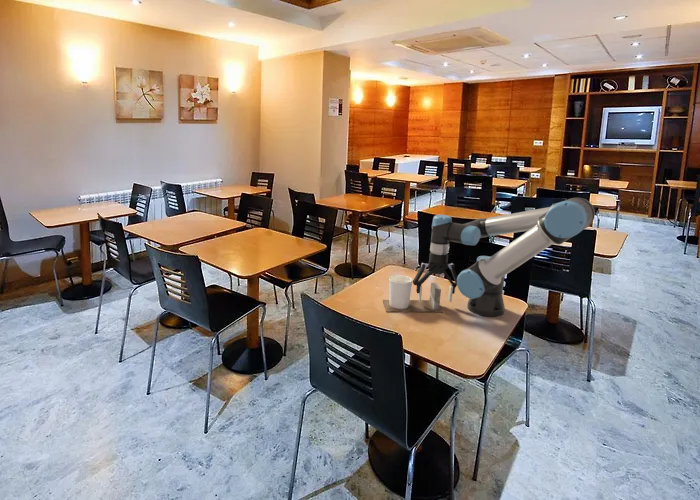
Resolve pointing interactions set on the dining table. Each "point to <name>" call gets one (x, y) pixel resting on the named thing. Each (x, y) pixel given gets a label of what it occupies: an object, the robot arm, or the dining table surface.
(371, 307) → the dining table surface
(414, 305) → the board
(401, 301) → the candle holder
